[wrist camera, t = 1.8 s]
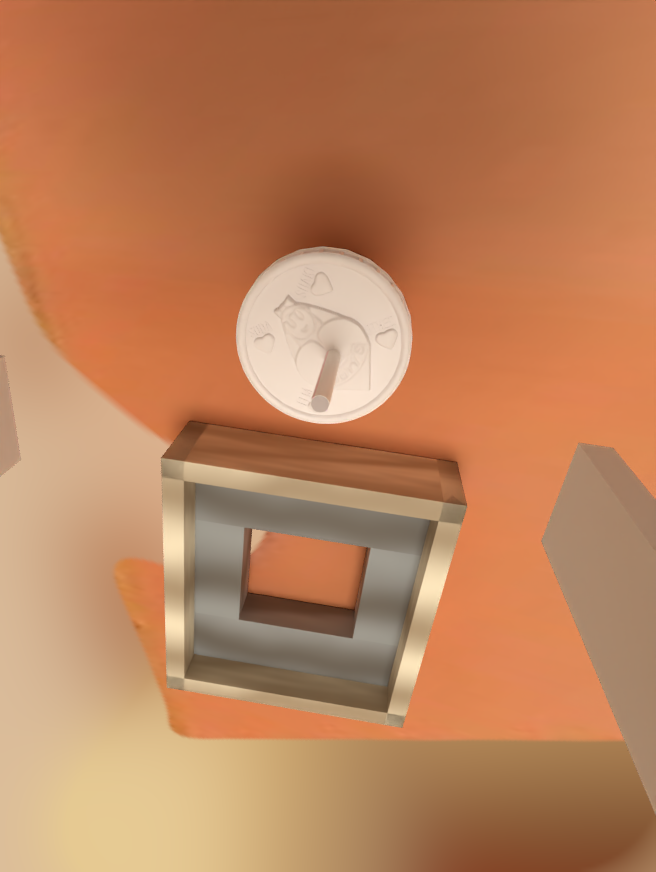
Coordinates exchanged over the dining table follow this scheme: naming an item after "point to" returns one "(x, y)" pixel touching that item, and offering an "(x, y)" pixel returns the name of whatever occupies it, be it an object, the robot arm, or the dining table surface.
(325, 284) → the smoothie
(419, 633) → the socket box
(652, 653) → the robot arm
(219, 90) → the dining table surface
